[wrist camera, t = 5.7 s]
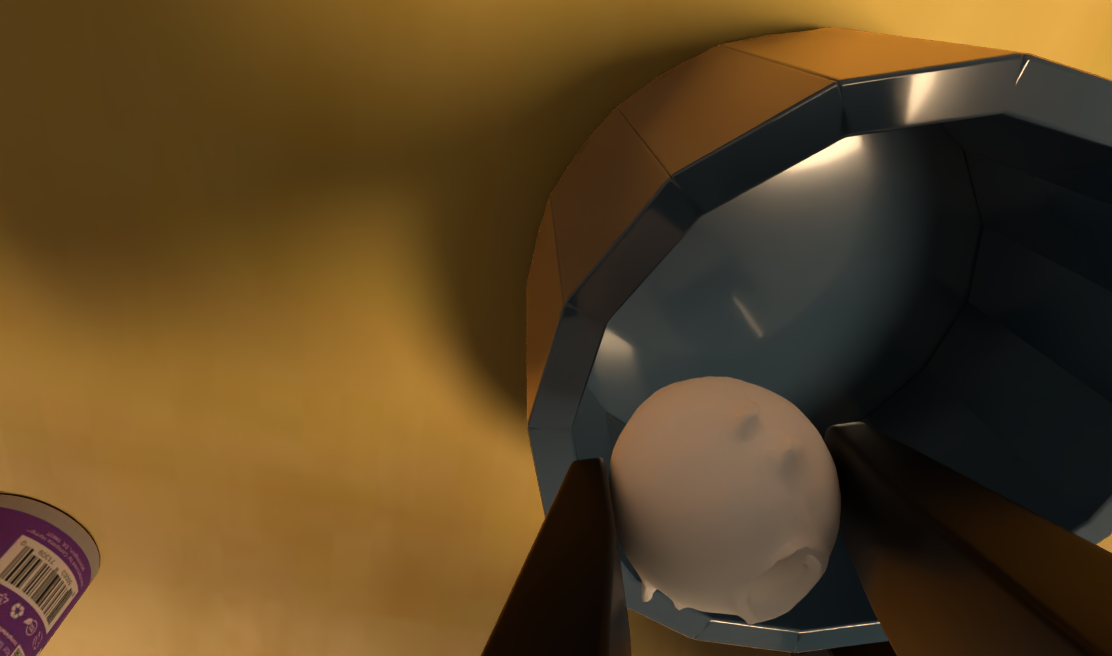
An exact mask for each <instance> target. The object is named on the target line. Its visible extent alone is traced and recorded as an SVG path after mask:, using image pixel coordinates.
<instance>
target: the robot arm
mask: <svg viewBox="0 0 1112 656" xmlns="http://www.w3.org/2000/svg"><path fill="white" fill-rule="evenodd" d="M824 443H825V444H826V446H827V448H828V450H829V452H830V454H831V456H832V459H833V461H834V463H835V466H836V469H837V474H838V479H839V486H840V493H841V514H840V526H839V530H840V532H841V535H842V537H843V539H844V542H845V544H846V547H847V549H848V552H849V554H850V557H851V559H852V562H853V564H854V566H855V569H856V571H857V574H858V576H859V579H860V581H861V584H862V586H863V589H864V591H865V593H866V596H867V598H868V600H869V602H870V605H871V607H872V609H873V611H874V613H875V615H876V617H877V619H878V621H879V623H880V625H881V627H882V629H883V631H884V633H885V634H886V636H887V638H888V640H889V641H886V642H878V643H870V644H862V645H854V646H846V647H839V648H831V649H823V650H815V651H807V652H799V653H794V652H793V651H792V652H790V654H791V655H792V656H1112V553H1110V552H1109V551H1107V550H1105V549H1103V548H1101V547H1099V546H1097V545H1095V544H1093V543H1091V542H1090V541H1088V540H1086V539H1084V538H1082V537H1080V536H1078V535H1076V534H1074V533H1072V532H1071V531H1069V530H1067V529H1065V528H1063V527H1061V526H1059V525H1057V524H1055V523H1054V522H1052V521H1050V520H1048V519H1046V518H1044V517H1042V516H1040V515H1038V514H1036V513H1035V512H1033V511H1031V510H1029V509H1027V508H1025V507H1023V506H1021V505H1019V504H1017V503H1016V502H1014V501H1012V500H1010V499H1008V498H1006V497H1004V496H1002V495H1000V494H998V493H997V492H995V491H993V490H991V489H989V488H987V487H985V486H983V485H981V484H980V483H978V482H976V481H974V480H972V479H970V478H968V477H966V476H964V475H962V474H961V473H959V472H957V471H955V470H953V469H951V468H949V467H947V466H945V465H943V464H942V463H940V462H938V461H936V460H934V459H932V458H930V457H928V456H926V455H925V454H923V453H921V452H919V451H917V450H915V449H913V448H911V447H909V446H907V445H906V444H904V443H902V442H900V441H898V440H896V439H894V438H892V437H890V436H888V435H887V434H885V433H883V432H881V431H879V430H877V429H875V428H873V427H871V426H869V425H868V424H865V423H862V422H852V423H845V424H837V425H832V426H830V427H829V428H828V429H827V431H826V433H825V439H824ZM481 656H632V655H631V638H630V629H629V621H628V613H627V606H626V599H625V592H624V584H623V577H622V570H621V563H620V555H619V548H618V541H617V534H616V526H615V519H614V513H613V507H612V500H611V494H610V488H609V482H608V476H607V470H606V464H605V460H604V459H603V458H601V457H596V458H589V459H581V460H576V461H574V462H572V463H571V465H570V467H569V469H568V471H567V473H566V475H565V477H564V479H563V482H562V484H561V486H560V488H559V490H558V492H557V494H556V496H555V499H554V501H553V503H552V505H551V507H550V509H549V511H548V514H547V516H546V518H545V520H544V522H543V524H542V526H541V528H540V531H539V533H538V535H537V537H536V539H535V541H534V543H533V546H532V548H531V550H530V552H529V554H528V556H527V558H526V560H525V563H524V565H523V567H522V569H521V571H520V573H519V575H518V577H517V580H516V582H515V584H514V586H513V588H512V590H511V592H510V595H509V597H508V599H507V601H506V603H505V605H504V607H503V609H502V612H501V614H500V616H499V618H498V620H497V622H496V624H495V627H494V629H493V631H492V633H491V635H490V637H489V639H488V641H487V644H486V646H485V648H484V650H483V652H482V654H481Z"/></svg>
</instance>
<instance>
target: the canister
mask: <svg viewBox="0 0 1112 656" xmlns="http://www.w3.org/2000/svg"><path fill="white" fill-rule="evenodd" d="M526 342H527V431H528V436H529V441H530V446H531V451H532V456H533V461H534V466H535V471H536V476H537V481H538V486H539V491H540V496H541V501H542V505H543V510H544V515H545V518H546V516H547V514H548V511H549V509H550V507H551V505H552V503H553V501H554V499H555V496H556V494H557V492H558V490H559V488H560V486H561V484H562V482H563V479H564V477H565V475H566V473H567V471H568V469H569V467H570V465H571V463H572V462H574V461H576V460H581V459H589V458H596V457H601V458H603V459H604V460H605V464H606V470H607V476H608V482H609V476H610V463H611V457H612V452H613V449H614V446H615V444H616V442H617V440H618V438H619V436H620V434H621V432H622V430H623V429H624V427H625V426H626V424H627V423H628V421H629V420H630V418H631V417H632V415H633V414H634V412H635V411H636V409H637V408H638V407H639V406H640V405H641V404H642V403H643V402H644V401H645V400H646V399H648V398H649V397H650V396H651V395H652V394H653V393H655V392H656V391H658V390H659V389H661V388H663V387H666V386H668V385H670V384H673V383H676V382H681V381H685V380H688V379H692V378H702V377H707V376H713V377H719V376H720V377H730V378H734V379H739V380H742V381H745V382H748V383H751V384H754V385H757V386H760V387H763V388H766V389H767V390H770V391H772V392H774V393H776V394H778V395H780V396H782V397H783V398H785V399H787V400H788V401H790V402H791V403H792V404H794V405H795V406H796V407H797V408H798V409H799V410H800V411H801V412H802V413H803V414H804V415H805V416H806V417H807V418H808V419H809V421H810V422H811V423H812V424H813V425H814V427H815V428H816V429H817V430H818V432H819V434H820V435H821V437H822V439H823V441H824V439H825V433H826V431H827V429H828V428H829V427H830V426H832V425H837V424H845V423H852V422H862V423H865V424H868V425H869V426H871V427H873V428H875V429H877V430H879V431H881V432H883V433H885V434H887V435H888V436H890V437H892V438H894V439H896V440H898V441H900V442H902V443H904V444H906V445H907V446H909V447H911V448H913V449H915V450H917V451H919V452H921V453H923V454H925V455H926V456H928V457H930V458H932V459H934V460H936V461H938V462H940V463H942V464H943V465H945V466H947V467H949V468H951V469H953V470H955V471H957V472H959V473H961V474H962V475H964V476H966V477H968V478H970V479H972V480H974V481H976V482H978V483H980V484H981V485H983V486H985V487H987V488H989V489H991V490H993V491H995V492H997V493H998V494H1000V495H1002V496H1004V497H1006V498H1008V499H1010V500H1012V501H1014V502H1016V503H1017V504H1019V505H1021V506H1023V507H1025V508H1027V509H1029V510H1031V511H1033V512H1035V513H1036V514H1038V515H1040V516H1042V517H1044V518H1046V519H1048V520H1050V521H1052V522H1054V523H1055V524H1057V525H1059V526H1061V527H1063V528H1065V529H1067V530H1069V531H1071V532H1072V533H1074V534H1076V535H1078V536H1080V537H1082V538H1084V539H1086V540H1088V541H1090V542H1091V543H1093V544H1095V545H1096V544H1098V543H1099V542H1101V541H1102V540H1104V539H1105V538H1107V537H1109V536H1110V535H1111V534H1112V80H1111V79H1108V78H1104V77H1101V76H1098V75H1095V74H1092V73H1089V72H1086V71H1083V70H1080V69H1077V68H1073V67H1070V66H1067V65H1064V64H1061V63H1058V62H1055V61H1052V60H1049V59H1045V58H1042V57H1039V56H1036V55H1033V54H1030V53H1024V52H1017V51H1009V50H1002V49H994V48H986V47H979V46H971V45H964V44H956V43H949V42H941V41H934V40H926V39H918V38H911V37H903V36H896V35H888V34H881V33H873V32H865V31H858V30H850V29H843V28H832V27H828V28H821V29H815V30H808V31H801V32H789V33H777V34H767V35H763V36H758V37H754V38H749V39H745V40H741V41H736V42H730V43H723V44H720V45H719V46H718V45H716V46H714V47H712V48H711V49H709V50H707V51H706V52H704V53H702V54H699V55H697V56H695V57H693V58H691V59H689V60H687V61H685V62H683V63H681V64H679V65H678V66H676V67H674V68H672V69H670V70H668V71H666V72H664V73H662V74H661V75H659V76H658V77H657V78H655V79H654V80H652V81H651V82H649V83H648V84H647V85H645V86H644V87H642V88H641V89H639V90H638V91H637V92H635V93H634V94H632V95H631V96H630V97H629V98H628V99H627V100H625V101H623V102H622V103H620V104H618V105H617V107H616V108H614V109H613V111H612V112H611V113H610V115H609V116H608V117H607V118H605V119H604V120H603V122H602V123H601V124H600V125H599V126H598V127H597V129H596V130H595V131H594V132H593V133H592V134H591V135H590V137H589V138H588V139H587V140H586V141H585V142H584V144H583V145H582V146H581V147H580V149H579V150H578V152H577V153H576V155H575V156H574V158H573V159H572V161H571V162H570V164H569V165H568V167H567V168H566V170H565V171H564V173H563V174H562V176H561V178H560V180H559V182H558V183H557V184H556V186H555V187H554V188H553V190H552V191H551V194H550V195H549V198H548V202H547V206H546V210H545V213H544V216H543V219H542V222H541V225H540V228H539V231H538V234H537V238H536V243H535V249H534V254H533V259H532V263H531V267H530V271H529V275H528V279H527V282H526ZM617 541H618V548H619V555H620V563H621V570H622V577H623V584H624V592H625V599H626V606H627V608H628V609H630V610H632V611H634V612H636V613H638V614H640V615H642V616H644V617H646V618H648V619H651V620H653V621H655V622H657V623H659V624H661V625H663V626H665V627H667V628H669V629H671V630H673V631H675V632H677V633H680V634H682V635H684V636H686V637H688V638H690V639H693V638H694V639H695V640H698V641H706V642H713V643H721V644H729V645H736V646H744V647H752V648H760V649H767V650H775V651H783V652H792V651H793V652H794V653H799V652H807V651H815V650H823V649H831V648H839V647H846V646H854V645H862V644H870V643H878V642H886V641H889V640H888V638H887V636H886V634H885V633H884V631H883V629H882V627H881V625H880V623H879V621H878V619H877V617H876V615H875V613H874V611H873V609H872V607H871V605H870V602H869V600H868V598H867V596H866V593H865V591H864V589H863V586H862V584H861V581H860V579H859V576H858V574H857V571H856V569H855V566H854V564H853V562H852V559H851V557H850V554H849V552H848V549H847V547H846V544H845V542H844V539H843V537H842V535H841V532H840V530H838V534H837V538H836V542H835V544H834V547H833V550H832V552H831V554H830V557H829V562H828V566H827V568H826V571H825V573H824V574H823V575H822V577H821V578H820V580H819V581H818V582H817V583H816V584H815V586H814V587H813V588H812V589H811V590H810V591H809V593H808V594H807V595H806V596H805V597H804V598H803V599H801V600H800V601H799V602H798V603H797V604H796V605H795V606H794V607H793V608H792V609H791V610H790V611H788V612H787V613H785V614H783V615H781V616H779V617H777V618H774V619H771V620H767V621H763V622H759V623H755V624H753V625H751V624H748V623H747V622H746V621H745V620H744V619H742V618H741V617H740V616H738V615H731V614H723V613H711V612H703V611H698V610H696V609H693V608H688V607H687V608H683V609H681V610H678V609H677V608H675V605H674V602H673V601H672V600H671V599H670V598H669V597H667V596H666V595H665V594H663V593H662V592H661V591H659V590H657V589H656V591H655V592H654V593H653V595H652V598H651V599H650V600H649V601H646V602H643V600H642V580H641V578H640V576H639V574H638V573H637V571H636V570H635V569H634V567H633V566H632V564H631V563H630V561H629V560H628V558H627V557H626V555H625V553H624V551H623V549H622V547H621V545H620V542H619V540H618V537H617Z"/></svg>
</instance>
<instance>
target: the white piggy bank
mask: <svg viewBox="0 0 1112 656" xmlns="http://www.w3.org/2000/svg"><path fill="white" fill-rule="evenodd" d="M609 488H610V494H611V500H612V507H613V513H614V519H615V526H616V534H617V537H618V540H619V542H620V545H621V547H622V549H623V551H624V553H625V555H626V557H627V558H628V560H629V561H630V563H631V564H632V566H633V567H634V569H635V570H636V571H637V573H638V574H639V576H640V578H641V580H642V600H643V602H646V601H649V600H650V599H651V598H652V595H653V593H654V592H655V591H656V589H657V590H659V591H661V592H662V593H663V594H665V595H666V596H667V597H669V598H670V599H671V600H672V601H673V602H674V605H675V608H677V609H678V610H681V609H683V608H687V607H688V608H693V609H696V610H698V611H703V612H711V613H723V614H731V615H738V616H740V617H741V618H742V619H744V620H745V621H746V622H747V623H748V624H751V625H753V624H755V623H759V622H763V621H767V620H771V619H774V618H777V617H779V616H781V615H783V614H785V613H787V612H788V611H790V610H791V609H792V608H793V607H794V606H795V605H796V604H797V603H798V602H799V601H800V600H801V599H803V598H804V597H805V596H806V595H807V594H808V593H809V591H810V590H811V589H812V588H813V587H814V586H815V584H816V583H817V582H818V581H819V580H820V578H821V577H822V575H823V574H824V573H825V571H826V568H827V566H828V562H829V557H830V554H831V552H832V550H833V547H834V544H835V542H836V538H837V534H838V530H839V526H840V514H841V493H840V486H839V479H838V474H837V469H836V466H835V463H834V461H833V459H832V456H831V454H830V452H829V450H828V448H827V446H826V444H825V443H824V441H823V439H822V437H821V435H820V434H819V432H818V430H817V429H816V428H815V427H814V425H813V424H812V423H811V422H810V421H809V419H808V418H807V417H806V416H805V415H804V414H803V413H802V412H801V411H800V410H799V409H798V408H797V407H796V406H795V405H794V404H792V403H791V402H790V401H788V400H787V399H785V398H783V397H782V396H780V395H778V394H776V393H774V392H772V391H770V390H767V389H766V388H763V387H760V386H757V385H754V384H751V383H748V382H745V381H742V380H739V379H734V378H730V377H720V376H719V377H713V376H707V377H702V378H692V379H688V380H685V381H681V382H676V383H673V384H670V385H668V386H666V387H663V388H661V389H659V390H658V391H656V392H655V393H653V394H652V395H651V396H650V397H649V398H648V399H646V400H645V401H644V402H643V403H642V404H641V405H640V406H639V407H638V408H637V409H636V411H635V412H634V414H633V415H632V417H631V418H630V420H629V421H628V423H627V424H626V426H625V427H624V429H623V430H622V432H621V434H620V436H619V438H618V440H617V442H616V444H615V446H614V449H613V452H612V457H611V463H610V476H609Z"/></svg>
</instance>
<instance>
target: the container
mask: <svg viewBox="0 0 1112 656" xmlns="http://www.w3.org/2000/svg"><path fill="white" fill-rule="evenodd" d="M99 565H100V558H99V553H98V549H97V547H96V545H95V543H94V541H93V540H92V538H91V537H90V535H89V534H88V533H87V532H86V531H85V530H84V529H83V528H82V527H81V526H80V525H79V524H78V523H76V522H75V521H74V520H73V519H71V518H70V517H68V516H67V515H65V514H64V513H62V512H60V511H58V510H56V509H54V508H52V507H50V506H48V505H46V504H43V503H41V502H37V501H34V500H31V499H27V498H23V497H18V496H12V495H0V656H38V655H39V654H40V652H41V651H42V649H43V648H44V647H45V645H46V644H47V643H48V641H49V640H50V638H51V637H52V636H53V634H54V633H55V631H56V630H57V629H58V627H59V626H60V625H61V623H62V622H63V620H64V619H65V618H66V616H67V615H68V614H69V612H70V611H71V609H72V608H73V607H74V605H75V604H76V603H77V601H78V600H79V598H80V597H81V596H82V594H83V593H84V592H85V590H86V589H87V587H88V586H89V584H90V583H91V581H92V580H93V579H94V577H95V576H96V574H97V572H98V569H99Z"/></svg>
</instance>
